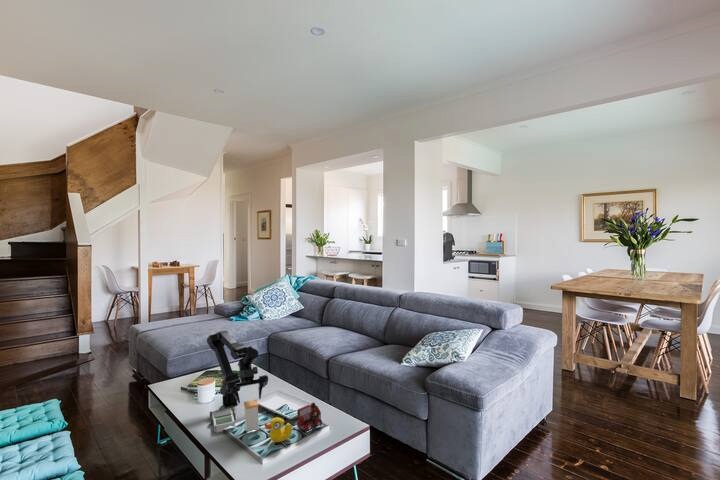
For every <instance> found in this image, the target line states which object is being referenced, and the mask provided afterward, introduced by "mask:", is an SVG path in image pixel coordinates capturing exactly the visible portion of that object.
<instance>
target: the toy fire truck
mask: <svg viewBox="0 0 720 480" xmlns="http://www.w3.org/2000/svg"><path fill="white" fill-rule="evenodd" d="M297 415H298V417H297V418H298V420H297V422H296V426H297V427H296V428H298V429H299V430H303V429H304V432H305V431H306V432H305V433H307V431H309V430H311V429H312V428H315V427H317V426H319V425H321V424H323V422H322V413H321V410H320V408H319V406H318V405H317V404H316V403H315V402H312V403H311V405H307V406H304V407H302V408H300V409H298V410H297ZM321 426H322V425H321ZM312 430H313V429H312Z"/></svg>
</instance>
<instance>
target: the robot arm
mask: <svg viewBox="0 0 720 480" xmlns="http://www.w3.org/2000/svg"><path fill="white" fill-rule="evenodd" d="M206 343H207V345H208V347H209V349H210V350H212V351H213V352H214V353H215V356H216V359H217V361H218V365H219V368H220V369H221V373H222V380H221V381H222V382H221V384H222V385H221V387H220V389H219V392H220V395H222V396H221V397H222V406H223V408H231V407H235V406H238V405H239V404H240V403H241V399H240V395H239V392H240V390H241V388H242V387H246V386H253V385H257V384H258V397H259V399H261V396H262V393H263V392H262V391H263V388H265V387H266V386H268V382H269V376H268V375H267V374H265V375H259V377H258V378H257V379H256V378H255V375H257V374H258V371H259V370H258V366H253V365H252V364H254V362H255V361H256V360H257V358H258V357H259V351H258V350H257V349H256V348H254V347H252V346H248V347H247V345H245V344H244V343H241V342H238V341H237V340H236V339H235V338H233V336H232V335H230V333H229V332H228V330H226V329H225V330H220V331H217V332H216V333H214V334H211V335H208V337H207V339H206ZM225 346H226V347H227V348H228V350H229V351H230V356H231V358H232V359H234V360H235V361H236V360H239V361H238V363H237V366H238V367H239V368H238V369H239V373H237V372H234V371H233V368H232V367H231V364H230V361H229V359H228V355H227V353H226V349H225ZM252 366H253V367H252ZM239 376H240V377H239Z"/></svg>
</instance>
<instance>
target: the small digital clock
mask: <svg viewBox="0 0 720 480" xmlns="http://www.w3.org/2000/svg"><path fill="white" fill-rule="evenodd" d="M236 416H237V415H236V411H235V406H231V407H226V408H221V409H218V410H213V411H209V419H210V425H213V429H214V434H216V433H220V432H224V431H223V430H224V428H227V427H229V426H235V427H236V424H235V420H236V419H237V417H236Z"/></svg>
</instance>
